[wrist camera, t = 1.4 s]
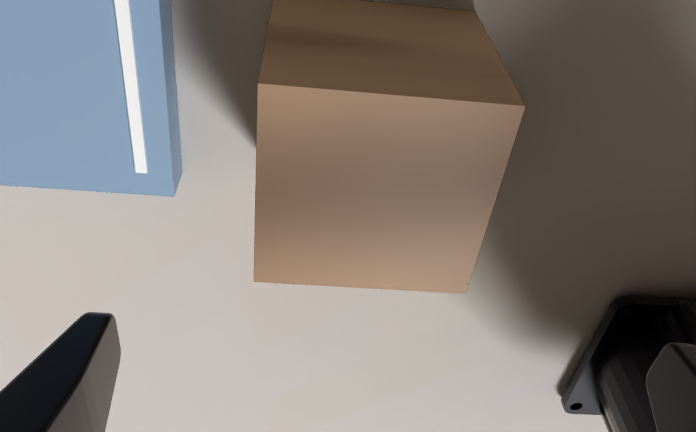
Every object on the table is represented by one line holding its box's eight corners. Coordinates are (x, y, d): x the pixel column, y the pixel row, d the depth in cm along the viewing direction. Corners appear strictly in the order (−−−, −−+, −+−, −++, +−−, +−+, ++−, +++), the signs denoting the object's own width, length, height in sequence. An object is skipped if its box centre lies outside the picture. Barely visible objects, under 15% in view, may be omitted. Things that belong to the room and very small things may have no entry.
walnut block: (435, 174, 19) (465, 293, 15) (268, 162, 18) (253, 282, 14) (474, 10, 16) (525, 106, 12) (274, -10, 15) (257, 83, 11)
